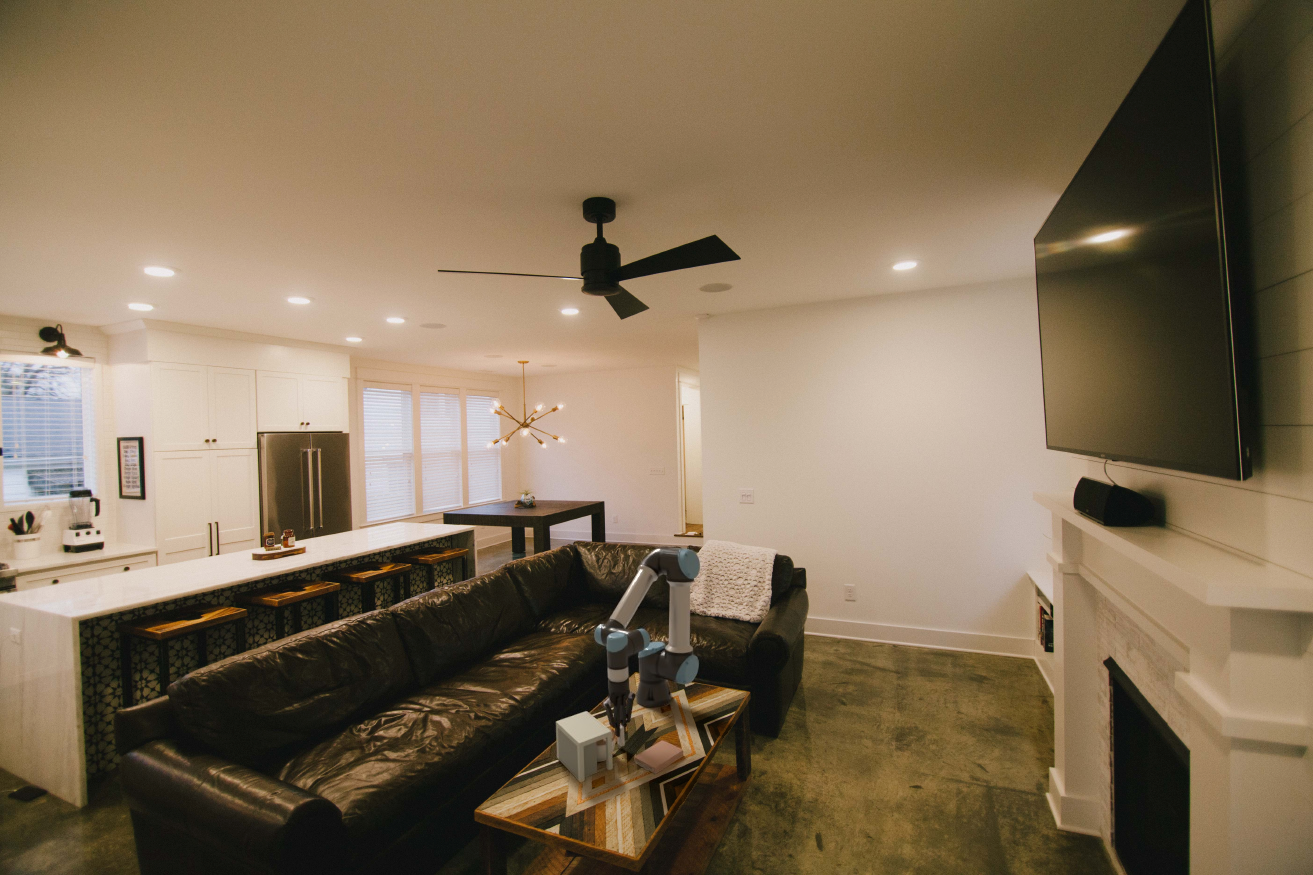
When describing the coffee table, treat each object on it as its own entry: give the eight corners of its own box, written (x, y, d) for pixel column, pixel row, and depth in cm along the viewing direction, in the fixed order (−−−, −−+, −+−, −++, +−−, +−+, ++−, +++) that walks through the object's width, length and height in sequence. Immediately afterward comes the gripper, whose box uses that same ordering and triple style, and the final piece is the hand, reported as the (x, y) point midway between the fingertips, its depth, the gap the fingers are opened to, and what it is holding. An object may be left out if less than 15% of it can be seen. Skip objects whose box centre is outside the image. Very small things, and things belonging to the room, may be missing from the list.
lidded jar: (601, 769, 181) (600, 740, 181) (578, 759, 187) (577, 731, 187) (622, 753, 189) (621, 726, 189) (599, 744, 196) (598, 718, 196)
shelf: (587, 745, 195) (586, 710, 196) (612, 768, 181) (611, 730, 181) (557, 757, 188) (555, 721, 189) (580, 782, 174) (579, 743, 174)
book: (662, 746, 194) (662, 739, 194) (683, 756, 187) (683, 749, 187) (634, 764, 184) (634, 756, 184) (655, 775, 177) (655, 767, 177)
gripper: (628, 669, 200) (630, 733, 200) (597, 679, 193) (600, 746, 192) (639, 676, 194) (641, 742, 194) (607, 686, 187) (610, 755, 186)
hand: (620, 744), depth 193 cm, fingers closed
